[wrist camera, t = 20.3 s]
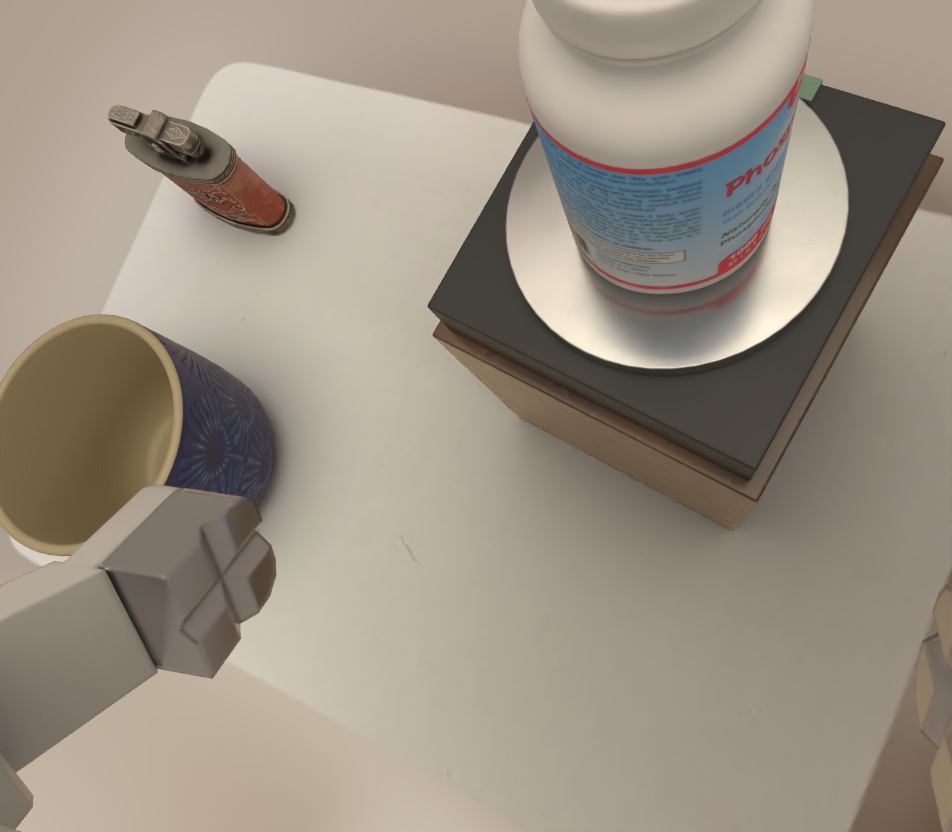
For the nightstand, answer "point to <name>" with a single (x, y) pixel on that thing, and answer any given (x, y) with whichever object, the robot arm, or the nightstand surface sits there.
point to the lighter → (204, 170)
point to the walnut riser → (649, 452)
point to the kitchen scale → (702, 310)
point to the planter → (118, 429)
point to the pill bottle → (665, 127)
